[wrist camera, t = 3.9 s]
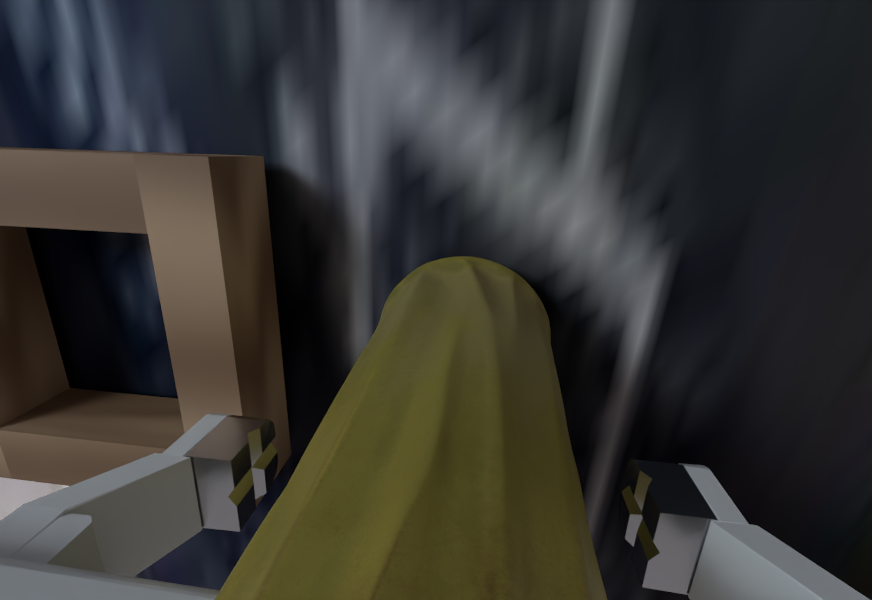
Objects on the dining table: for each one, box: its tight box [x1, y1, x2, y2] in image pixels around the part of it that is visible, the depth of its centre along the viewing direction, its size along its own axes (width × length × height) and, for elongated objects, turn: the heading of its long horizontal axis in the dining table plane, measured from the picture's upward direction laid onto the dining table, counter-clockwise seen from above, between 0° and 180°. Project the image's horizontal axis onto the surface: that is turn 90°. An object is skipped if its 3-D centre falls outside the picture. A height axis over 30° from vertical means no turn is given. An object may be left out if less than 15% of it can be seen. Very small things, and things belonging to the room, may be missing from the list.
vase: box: [215, 256, 607, 600], centre depth 9 cm, size 6×6×14 cm
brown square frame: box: [0, 147, 291, 506], centre depth 16 cm, size 12×12×3 cm
